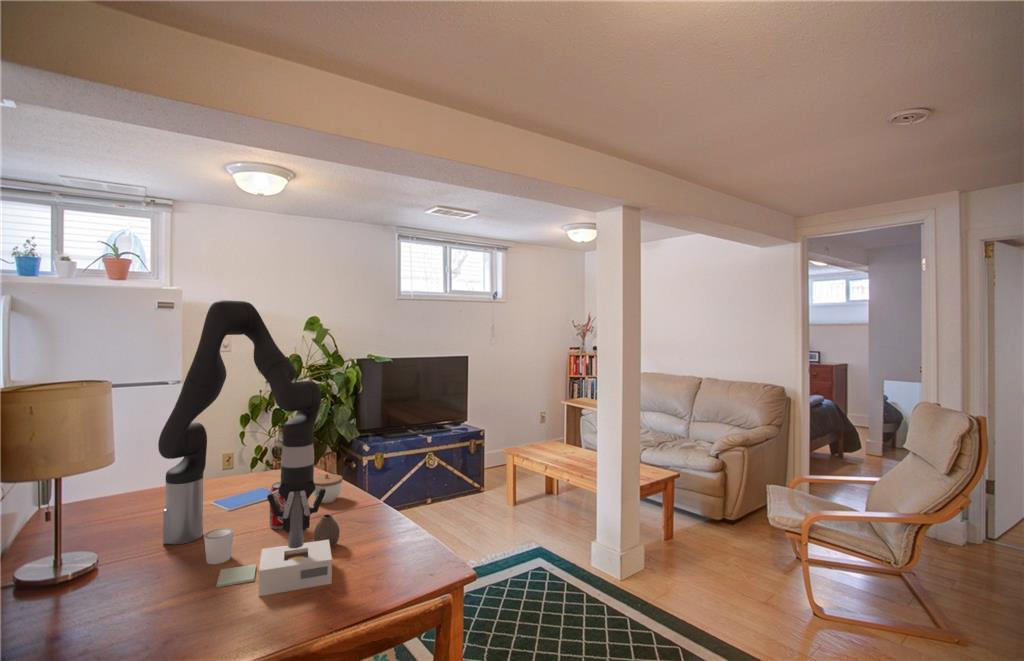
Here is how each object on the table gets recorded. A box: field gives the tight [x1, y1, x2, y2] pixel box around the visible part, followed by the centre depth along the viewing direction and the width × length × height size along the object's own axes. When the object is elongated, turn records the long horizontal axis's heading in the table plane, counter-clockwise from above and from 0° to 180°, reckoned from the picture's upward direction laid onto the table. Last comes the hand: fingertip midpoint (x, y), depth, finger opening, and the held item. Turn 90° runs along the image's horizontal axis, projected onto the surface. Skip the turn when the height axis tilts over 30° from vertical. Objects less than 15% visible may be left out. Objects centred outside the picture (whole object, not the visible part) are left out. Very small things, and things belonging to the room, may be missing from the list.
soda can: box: [269, 481, 286, 530], centre depth 157 cm, size 7×7×13 cm
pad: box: [215, 563, 257, 588], centre depth 125 cm, size 8×8×1 cm
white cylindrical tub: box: [203, 527, 235, 565], centre depth 134 cm, size 7×7×7 cm
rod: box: [287, 491, 305, 549], centre depth 125 cm, size 4×4×14 cm
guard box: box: [257, 540, 333, 597], centre depth 125 cm, size 16×12×6 cm
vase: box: [313, 513, 341, 549], centre depth 143 cm, size 7×7×9 cm
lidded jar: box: [311, 473, 344, 504], centre depth 180 cm, size 11×11×9 cm
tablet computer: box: [210, 487, 271, 512], centre depth 179 cm, size 19×13×1 cm, turn 147°
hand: (296, 530), depth 125 cm, fingers closed on rod, 3 cm apart
